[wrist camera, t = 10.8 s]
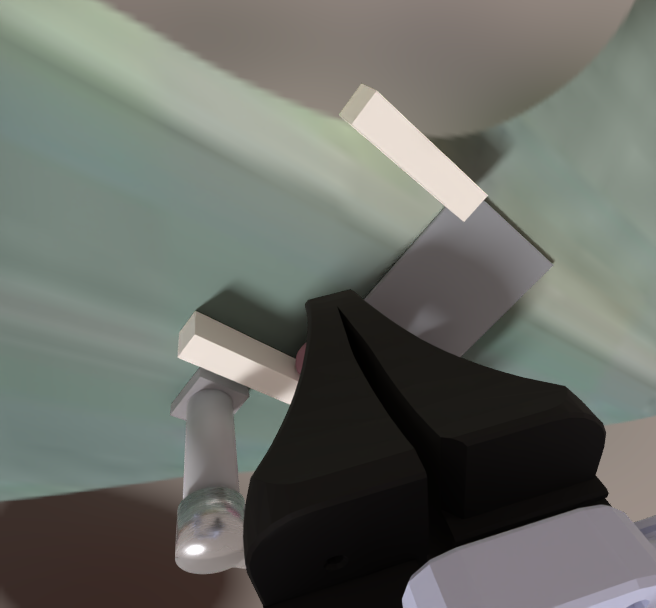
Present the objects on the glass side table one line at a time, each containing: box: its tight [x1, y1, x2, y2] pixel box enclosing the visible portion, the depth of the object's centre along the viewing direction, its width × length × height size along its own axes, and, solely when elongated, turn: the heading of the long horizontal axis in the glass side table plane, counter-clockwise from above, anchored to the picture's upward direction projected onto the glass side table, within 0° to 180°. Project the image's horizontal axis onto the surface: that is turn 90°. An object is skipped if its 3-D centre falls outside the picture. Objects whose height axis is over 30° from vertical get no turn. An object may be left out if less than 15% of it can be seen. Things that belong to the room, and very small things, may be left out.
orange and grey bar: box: [175, 487, 246, 574], centre depth 21 cm, size 13×3×2 cm, turn 54°
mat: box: [364, 201, 553, 357], centre depth 26 cm, size 8×12×1 cm, turn 141°
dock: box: [170, 84, 488, 499], centre depth 20 cm, size 7×19×7 cm, turn 141°
